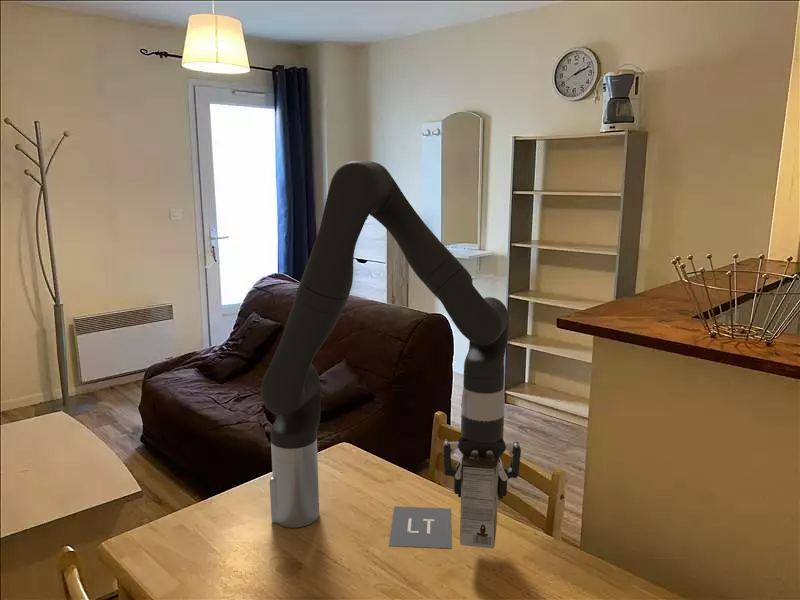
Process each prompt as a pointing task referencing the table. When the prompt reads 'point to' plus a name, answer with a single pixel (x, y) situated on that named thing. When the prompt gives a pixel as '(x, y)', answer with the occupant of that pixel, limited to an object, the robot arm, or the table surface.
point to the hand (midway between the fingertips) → (480, 495)
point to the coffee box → (479, 501)
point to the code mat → (421, 527)
